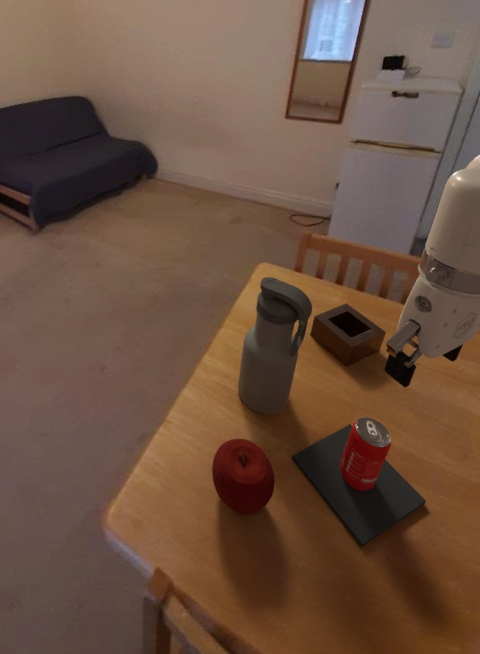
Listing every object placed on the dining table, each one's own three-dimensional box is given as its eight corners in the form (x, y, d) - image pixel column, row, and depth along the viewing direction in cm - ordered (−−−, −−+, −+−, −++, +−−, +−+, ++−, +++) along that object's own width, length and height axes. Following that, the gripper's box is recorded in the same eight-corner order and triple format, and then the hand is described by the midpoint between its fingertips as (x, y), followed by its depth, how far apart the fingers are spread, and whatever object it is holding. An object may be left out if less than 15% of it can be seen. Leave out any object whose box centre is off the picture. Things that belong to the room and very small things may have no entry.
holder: (341, 321, 100) (346, 303, 97) (379, 351, 91) (386, 332, 89) (310, 335, 96) (314, 316, 94) (346, 367, 88) (352, 347, 85)
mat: (349, 427, 76) (350, 423, 75) (424, 504, 64) (426, 501, 64) (291, 458, 71) (292, 455, 71) (361, 548, 60) (362, 544, 59)
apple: (279, 492, 67) (288, 456, 62) (252, 545, 60) (259, 509, 56) (228, 453, 73) (233, 417, 68) (198, 497, 66) (201, 461, 62)
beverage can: (342, 489, 66) (358, 444, 60) (335, 457, 70) (349, 412, 65) (377, 497, 65) (397, 451, 59) (368, 464, 69) (385, 419, 64)
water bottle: (296, 391, 83) (321, 284, 71) (279, 428, 76) (303, 316, 64) (249, 366, 89) (264, 263, 76) (229, 398, 82) (242, 290, 70)
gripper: (444, 309, 43) (403, 412, 51) (537, 264, 49) (488, 363, 57) (379, 271, 50) (352, 368, 57) (468, 235, 55) (432, 328, 63)
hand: (419, 365), depth 57 cm, fingers open, 9 cm apart
